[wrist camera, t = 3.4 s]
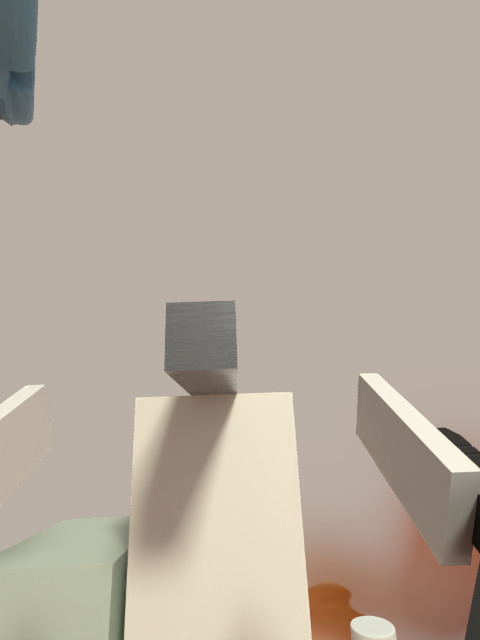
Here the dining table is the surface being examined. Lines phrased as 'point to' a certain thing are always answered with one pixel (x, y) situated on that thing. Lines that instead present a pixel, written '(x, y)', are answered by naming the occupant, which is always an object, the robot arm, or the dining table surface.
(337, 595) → the dining table surface
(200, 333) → the steel block
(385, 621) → the supplement bottle
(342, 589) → the dining table surface
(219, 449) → the two-step stand
